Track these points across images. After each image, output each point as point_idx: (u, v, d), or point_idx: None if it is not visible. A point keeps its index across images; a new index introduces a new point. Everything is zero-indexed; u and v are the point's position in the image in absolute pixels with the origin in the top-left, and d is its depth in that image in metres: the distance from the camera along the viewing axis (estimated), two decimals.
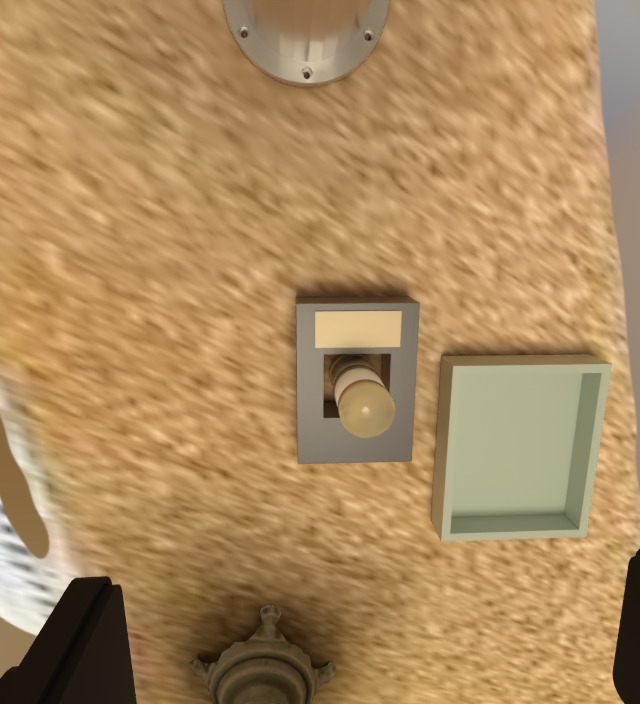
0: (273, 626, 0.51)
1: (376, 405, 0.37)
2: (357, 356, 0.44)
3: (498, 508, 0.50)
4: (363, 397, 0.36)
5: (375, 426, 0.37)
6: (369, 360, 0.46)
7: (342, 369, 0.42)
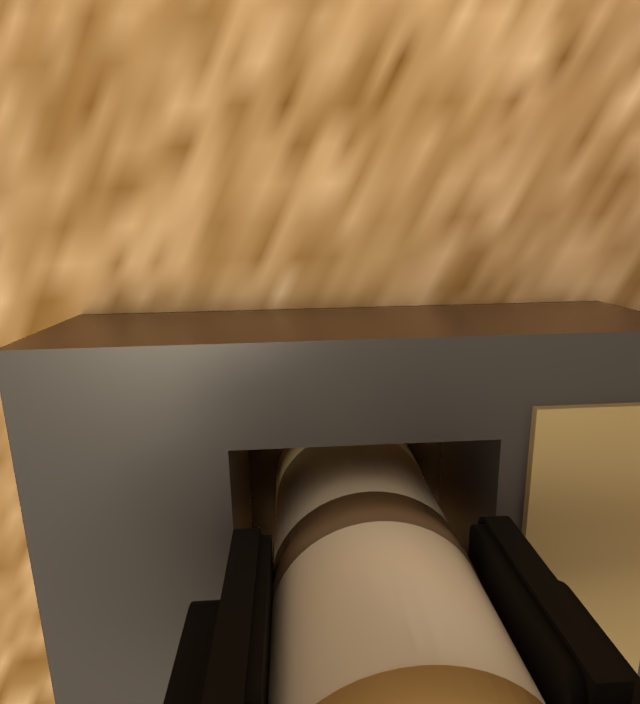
0: None
1: None
2: None
3: None
4: None
5: None
6: None
7: (438, 510, 0.11)
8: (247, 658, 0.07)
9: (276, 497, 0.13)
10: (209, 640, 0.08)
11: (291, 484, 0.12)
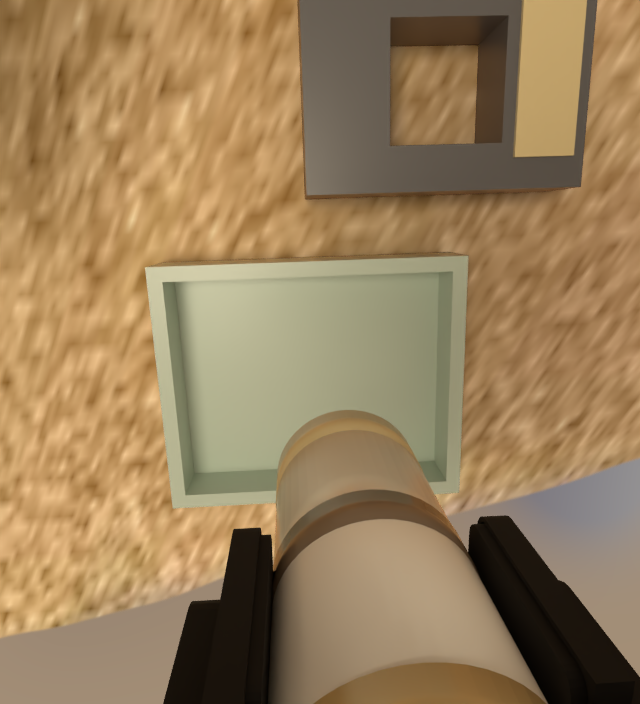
0: None
1: None
2: None
3: (197, 370, 0.30)
4: None
5: None
6: None
7: (440, 508, 0.11)
8: (247, 658, 0.07)
9: (277, 495, 0.13)
10: (210, 640, 0.08)
11: (292, 483, 0.12)
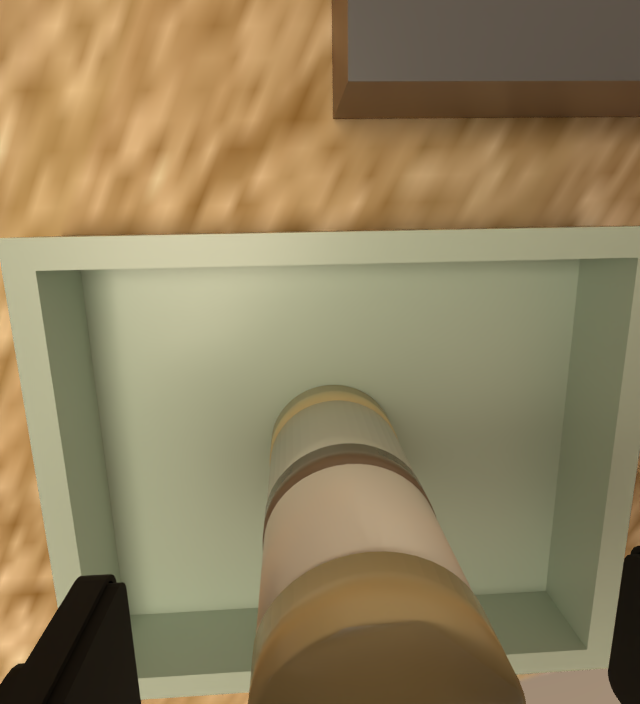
0: None
1: None
2: None
3: (127, 438, 0.16)
4: None
5: None
6: None
7: (403, 459, 0.13)
8: None
9: (270, 460, 0.15)
10: None
11: (281, 445, 0.14)
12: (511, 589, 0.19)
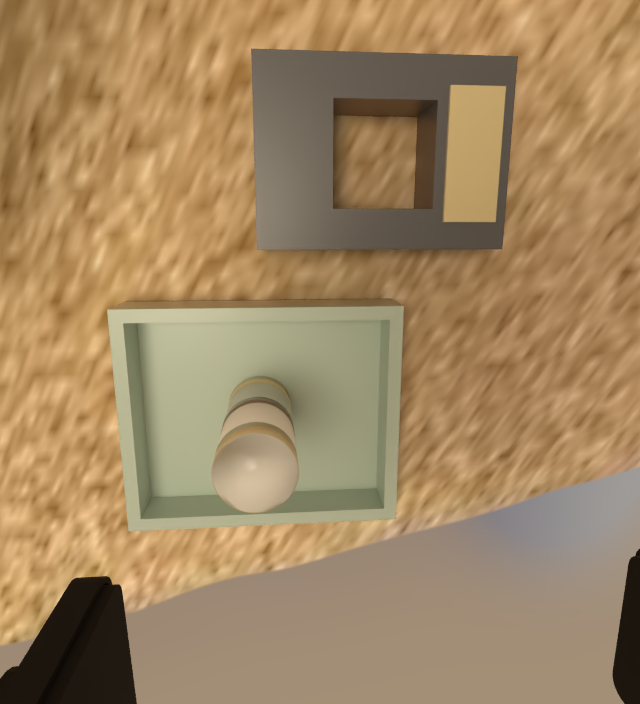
0: None
1: (266, 485, 0.24)
2: None
3: (156, 402, 0.33)
4: (278, 465, 0.24)
5: (231, 488, 0.24)
6: None
7: (283, 404, 0.29)
8: None
9: None
10: None
11: (231, 402, 0.30)
12: (357, 486, 0.35)
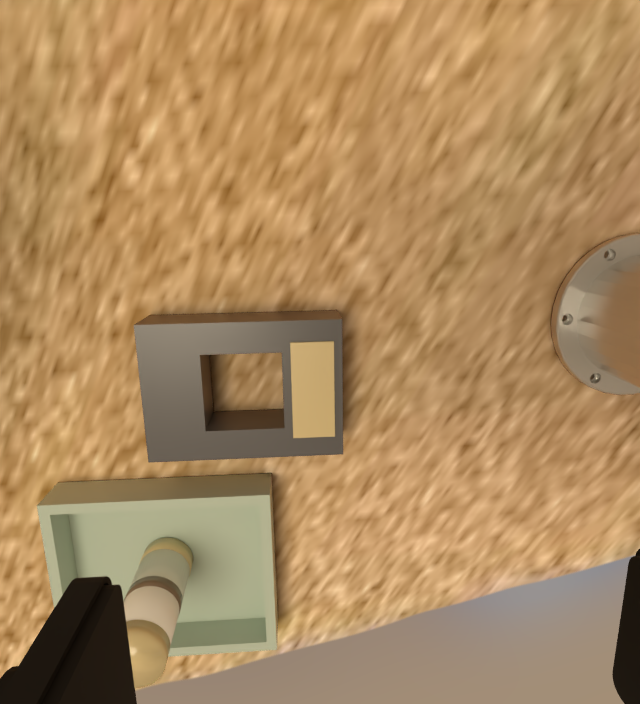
0: None
1: (142, 670, 0.32)
2: (189, 572, 0.40)
3: (85, 558, 0.41)
4: (149, 656, 0.32)
5: None
6: None
7: (173, 578, 0.37)
8: None
9: None
10: None
11: (137, 570, 0.39)
12: (252, 616, 0.44)
